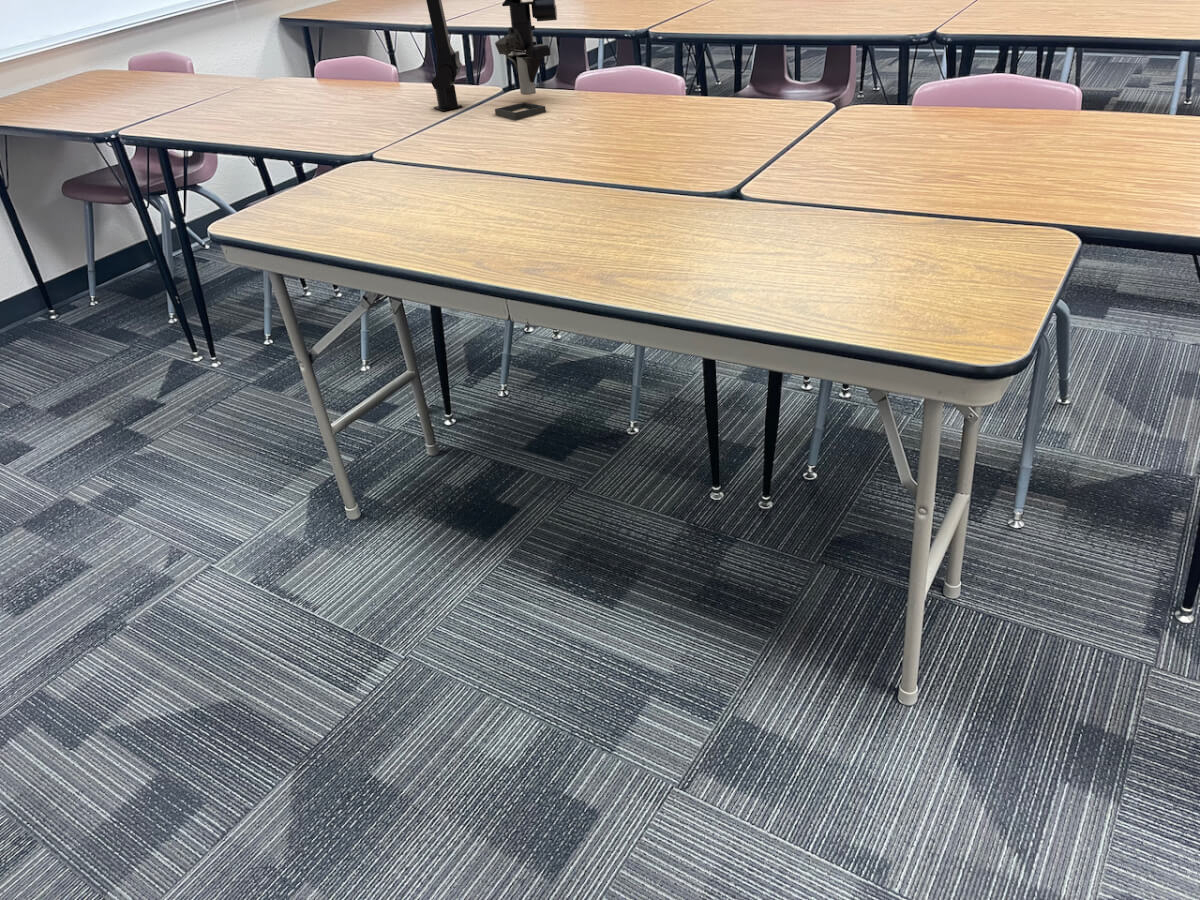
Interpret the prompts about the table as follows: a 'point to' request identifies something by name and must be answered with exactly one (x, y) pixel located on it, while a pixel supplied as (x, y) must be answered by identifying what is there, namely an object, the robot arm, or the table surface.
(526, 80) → the gray cylinder
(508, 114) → the black square frame
